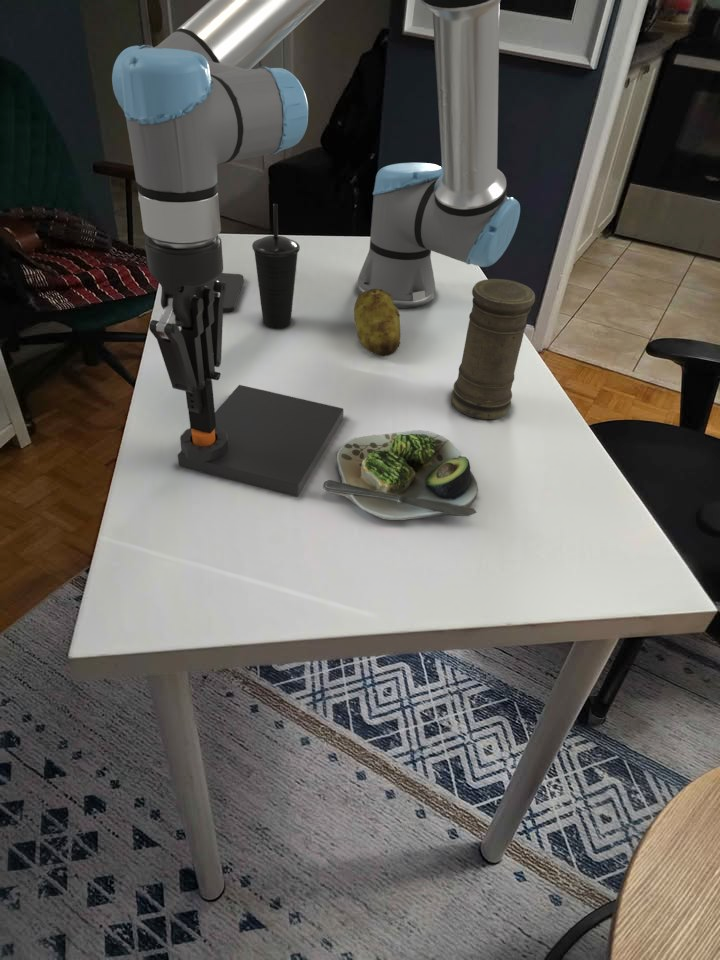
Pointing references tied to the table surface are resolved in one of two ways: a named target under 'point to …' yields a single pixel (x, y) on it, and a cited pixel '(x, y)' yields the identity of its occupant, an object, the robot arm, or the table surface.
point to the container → (492, 348)
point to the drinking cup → (276, 276)
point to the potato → (377, 322)
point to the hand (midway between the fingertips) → (203, 427)
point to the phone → (231, 289)
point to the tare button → (203, 437)
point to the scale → (264, 440)
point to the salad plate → (405, 476)
